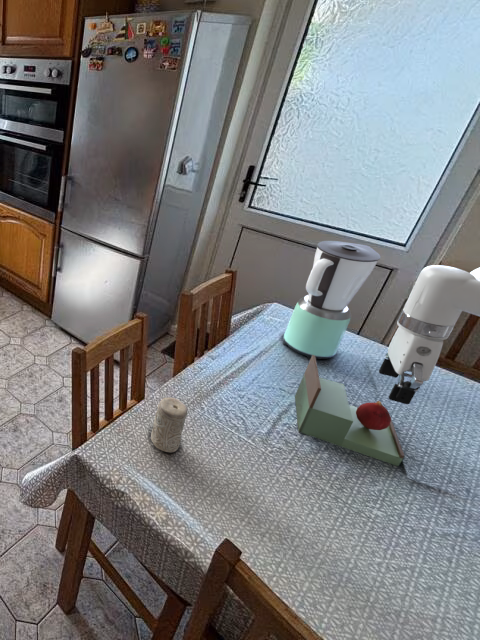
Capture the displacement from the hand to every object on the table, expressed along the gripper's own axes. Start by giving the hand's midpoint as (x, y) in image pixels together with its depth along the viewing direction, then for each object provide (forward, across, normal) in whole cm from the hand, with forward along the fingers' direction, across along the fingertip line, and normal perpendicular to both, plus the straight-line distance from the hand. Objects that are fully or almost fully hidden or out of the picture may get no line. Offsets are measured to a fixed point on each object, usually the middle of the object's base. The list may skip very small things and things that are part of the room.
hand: (392, 387), depth 92 cm
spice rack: (+15, 0, +5) cm, 16 cm away
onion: (+13, 0, +1) cm, 13 cm away
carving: (+14, -28, +41) cm, 52 cm away
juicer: (+15, +33, +10) cm, 38 cm away
